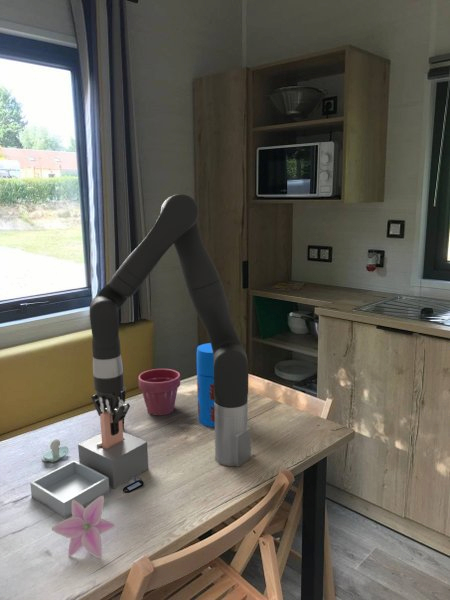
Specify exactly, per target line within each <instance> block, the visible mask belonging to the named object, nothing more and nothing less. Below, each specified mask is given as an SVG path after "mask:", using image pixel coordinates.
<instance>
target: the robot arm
mask: <svg viewBox="0 0 450 600" xmlns="http://www.w3.org/2000/svg"><path fill="white" fill-rule="evenodd" d="M199 211H200V210H199V206H198V204H197V202H196V200H195V199H194V198H193V197H191V196H189V195H187V194H184V193H176V194H173V195H171V196H169V197H167V198H166V199H165V200H164V202H163V203H162V204H161V208H160V213H159V215H158V218H157V219H156V222H155V223H154V225H153V226H152V228H151V229H150V230H149V232H148V234H147V235H146V236H145V238H143V240H142V241H141V242H140V243H139V244H138V246H137V247H135V249H134V250H132V252H131V253H130V254H129V255H128V256H127V257H126V259H124V261H123V262H122V264H121V265H120V266H119V267H118V269H117V270H116V271H115V272H114V274H113V275H112V277H111V279H110V280H109V281H108V282H107V284H105V285H104V286H103V287H102V288H101V289H100V290H99V292H97V294H96V295H95V296H94V298H93V299H92V300H91V302H90V306H89V322H90V330H91V336H92V339H91V345H92V346H91V349H92V374H93V388H94V391H95V392H96V394H94V395H91V400H92V403H93V405H94V407H95V409H96V413H97V414H98V416H99V417H100V414H102V413H104V412H106V411H107V413H108V414H109V417H110V422H111V423H110V427H111V435H113V436H114V435H116V434H118V432H119V421H121V420H123V419H124V420H125V418H126V416H127V414H128V411H129V409H130V407H131V406H130V403H128V402H127V403H126V402H125V403H124V402H123V397H122V394H121V391H122V389H123V387H124V385H125V384H124V383H125V382H124V371H123V368H124V367H123V361H122V355H121V354H122V353H121V340H120V336H119V332H120V331H119V330H120V318H119V316H120V315H119V310H120V309H121V307H122V306H123V305H124V303H125V302H127V300H128V299H129V298H131V297H132V296H134V294H136V293H137V292H138V290H139V289H140V288H141V286H142V285H143V284H144V283H145V281H146V279H147V278H148V277H149V275H150V274H151V273H152V271H153V270H154V268H155V267H156V266H157V265H158V263H159V262H160V260H161V259H162V258H163V257H164V255H165V254H166V252H167V251H168V250H169V249H170V248H171V247H172V246H174V248H175V250H176V253H177V256H178V260H179V265H180V269H181V270H180V271H181V273H182V277H183V279H184V283H185V286H186V289H187V290H186V291H187V292H188V296H189V298H190V301H191V303H192V306H193V308H194V310H195V312H196V314H197V316H198V317H199V320H200V321H201V322H202V324H203V326H204V328H205V329H206V332H207V334H208V338H209V341H210V343H211V346H212V350H213V356H214V408H215V427H214V450H215V451H214V455H215V456H214V457H215V458H214V459H215V461H216V462H217V463H218V464H220V465H223V466H226V467H227V466H229V467H236V468H239V467H240V466H242V465H243V464H244V463H246V462H247V461H249V460H250V459H251V457H252V456H251V450H252V449H251V448H252V447H251V446H252V445H251V444H252V443H251V442H252V439H251V437H252V436H251V434H252V433H251V432H252V431H251V429H252V428H251V427H250V426H248V421H249V418H248V417H249V416H248V412H249V411H248V408H249V407H248V404H249V403H248V401H249V400H248V399H249V397H248V396H249V362H248V361H249V360H248V357H247V356H248V355H247V353H246V351H245V348H244V347H243V345H242V342H241V340H240V338H239V336H238V334H237V332H236V329H235V327H234V324H233V322H232V321H233V320H232V318H231V317H232V316H231V313H230V306H229V304H228V303H229V302H228V299H227V295H226V291H225V288H224V286H223V283H222V279H221V276H220V274H219V272H218V270H217V268H216V266H215V263H214V261H213V259H212V258H211V256H210V254H209V252H208V251H207V249H206V247H205V245H204V242H203V240H202V237H201V233H200V230H199V229H200V228H199V225H198V218H199ZM114 414H115V417H114Z"/></svg>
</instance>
